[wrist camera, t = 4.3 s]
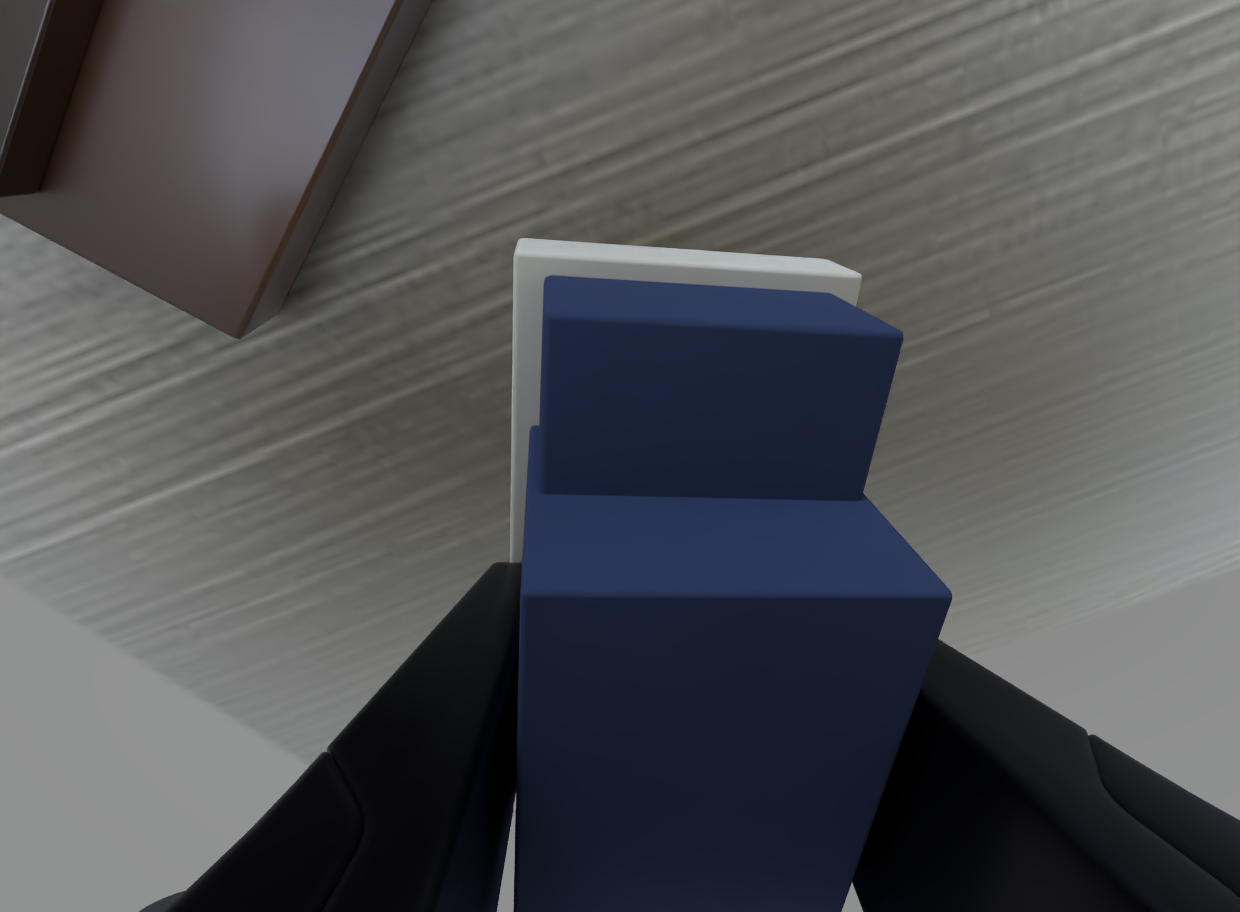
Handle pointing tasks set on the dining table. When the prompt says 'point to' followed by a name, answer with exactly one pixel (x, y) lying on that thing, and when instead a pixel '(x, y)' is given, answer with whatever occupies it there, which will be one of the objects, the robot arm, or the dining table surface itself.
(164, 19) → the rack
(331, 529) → the dining table surface
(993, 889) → the robot arm
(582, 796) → the stepped navy block
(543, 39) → the dining table surface
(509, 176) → the dining table surface
